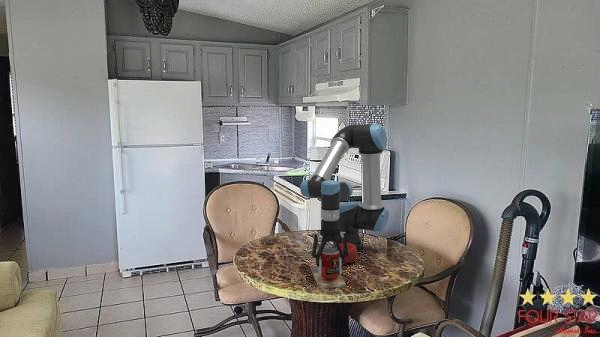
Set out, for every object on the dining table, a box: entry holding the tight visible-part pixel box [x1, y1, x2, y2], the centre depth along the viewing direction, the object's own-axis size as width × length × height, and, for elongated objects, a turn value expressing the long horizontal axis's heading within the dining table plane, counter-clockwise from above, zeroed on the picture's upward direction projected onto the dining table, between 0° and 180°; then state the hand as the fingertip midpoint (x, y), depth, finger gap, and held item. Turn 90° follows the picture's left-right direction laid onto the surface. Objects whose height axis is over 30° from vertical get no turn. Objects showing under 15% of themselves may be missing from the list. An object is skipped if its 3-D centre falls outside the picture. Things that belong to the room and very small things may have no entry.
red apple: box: [336, 242, 358, 265], centre depth 198 cm, size 11×10×10 cm
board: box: [309, 265, 347, 289], centre depth 180 cm, size 11×22×2 cm, turn 8°
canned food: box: [320, 246, 339, 279], centre depth 174 cm, size 8×8×11 cm
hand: (329, 273), depth 175 cm, fingers closed on canned food, 8 cm apart
